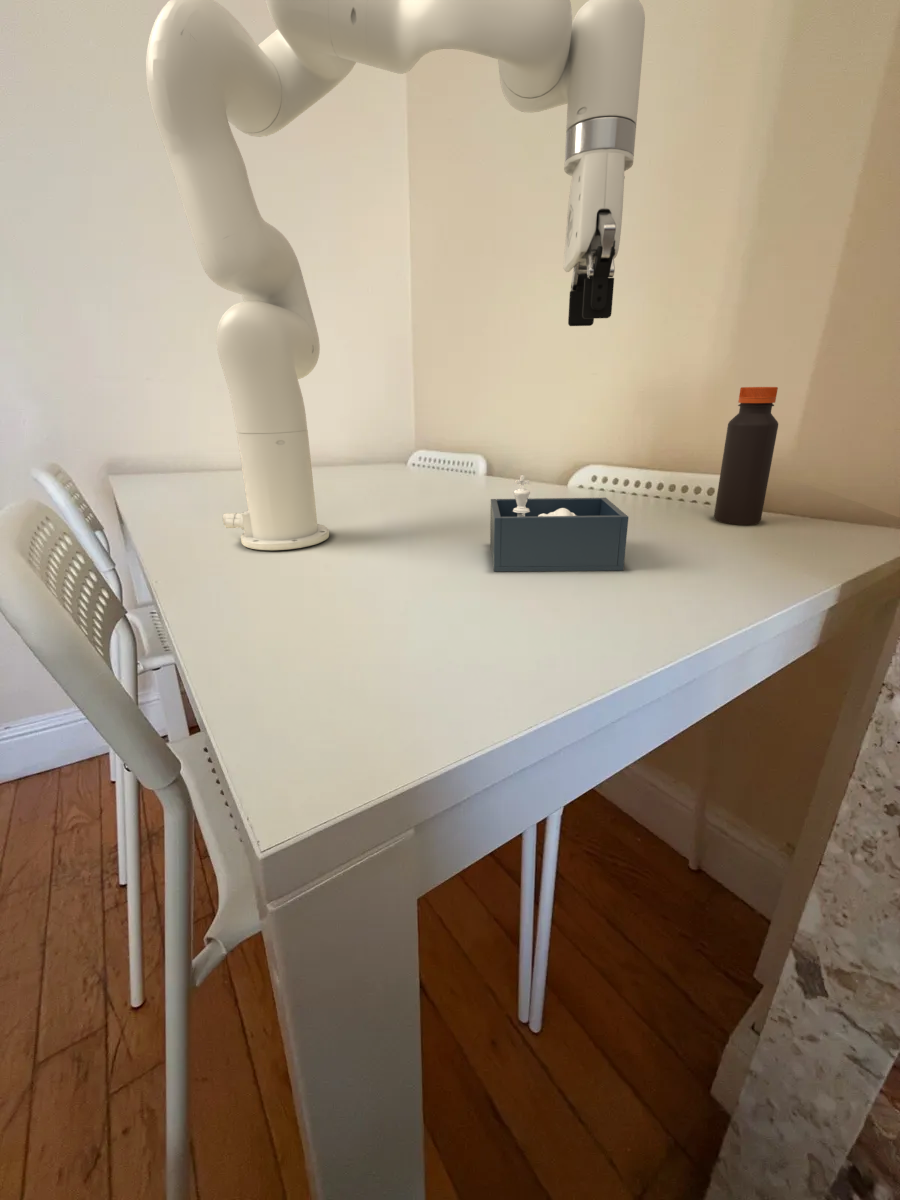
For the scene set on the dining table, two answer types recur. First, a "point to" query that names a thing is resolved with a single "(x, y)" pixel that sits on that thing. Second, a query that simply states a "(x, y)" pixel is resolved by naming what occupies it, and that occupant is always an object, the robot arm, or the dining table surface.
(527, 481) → the chess piece
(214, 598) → the dining table surface
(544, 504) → the bin
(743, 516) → the bottle
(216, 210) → the robot arm
